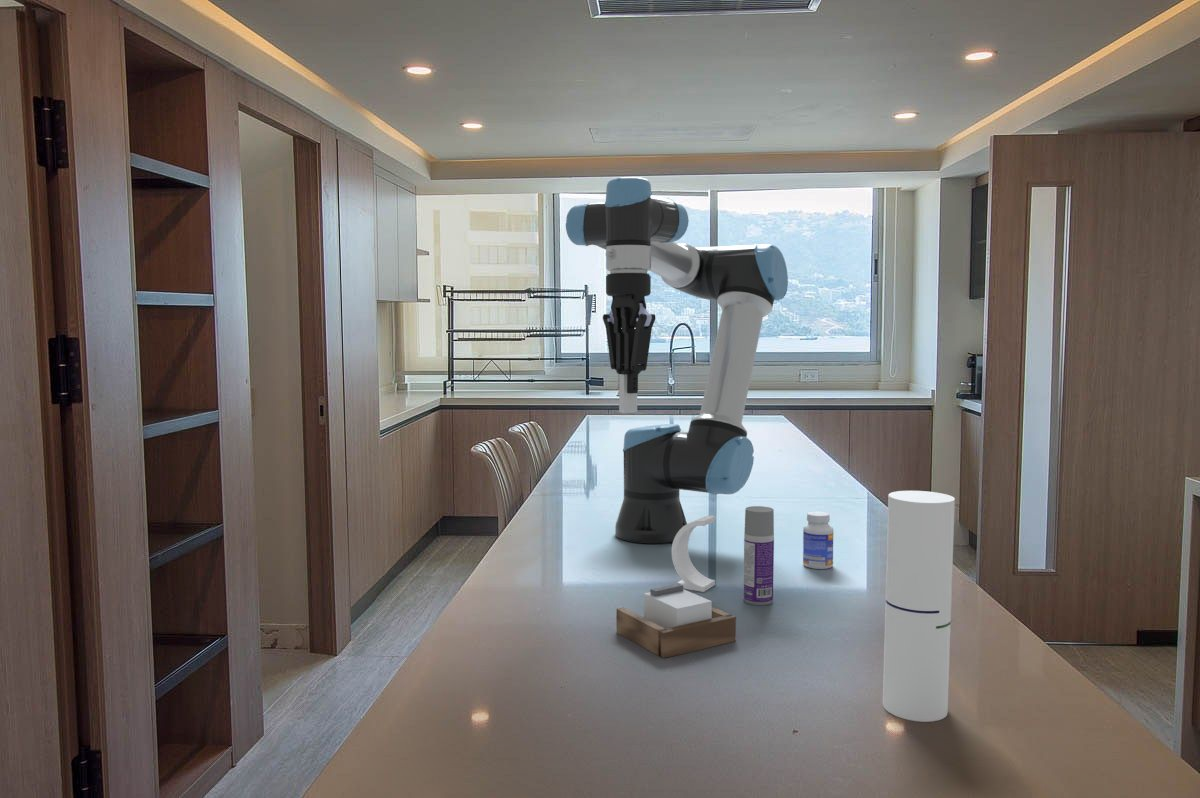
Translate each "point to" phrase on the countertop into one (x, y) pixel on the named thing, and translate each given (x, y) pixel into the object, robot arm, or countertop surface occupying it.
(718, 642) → the bay
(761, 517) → the container
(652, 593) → the matte white cube
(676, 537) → the headphone stand
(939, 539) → the cylindrical container
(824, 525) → the pill bottle
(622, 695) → the countertop surface
